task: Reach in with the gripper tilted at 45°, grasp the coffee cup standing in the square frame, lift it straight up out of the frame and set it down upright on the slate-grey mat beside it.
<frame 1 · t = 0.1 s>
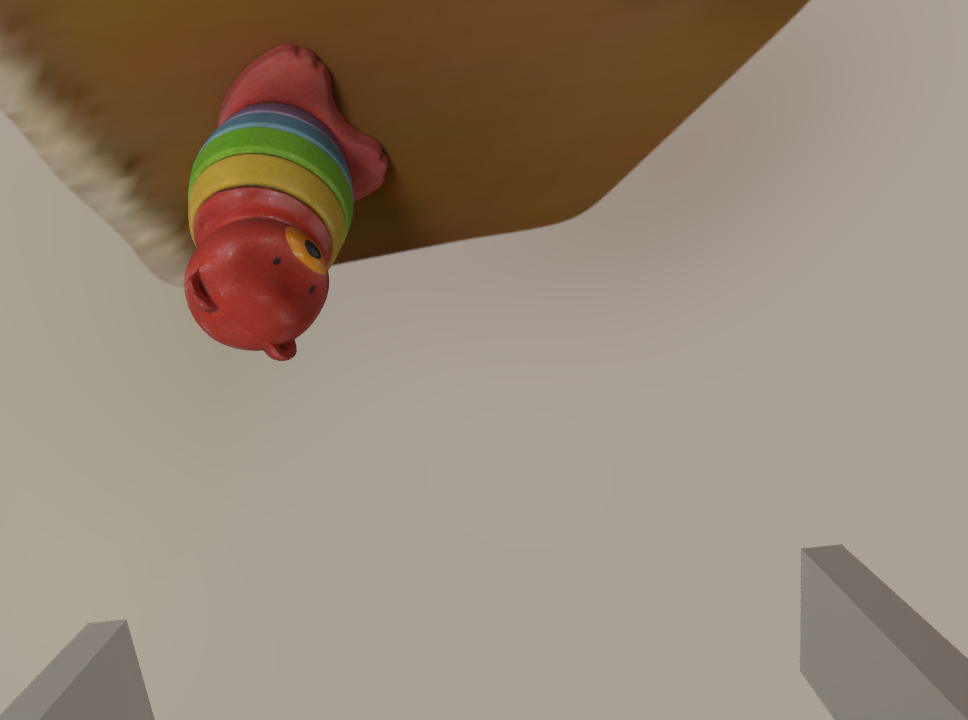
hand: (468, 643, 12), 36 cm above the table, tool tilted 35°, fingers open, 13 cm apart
stacking bear: (293, 140, 42), on the table
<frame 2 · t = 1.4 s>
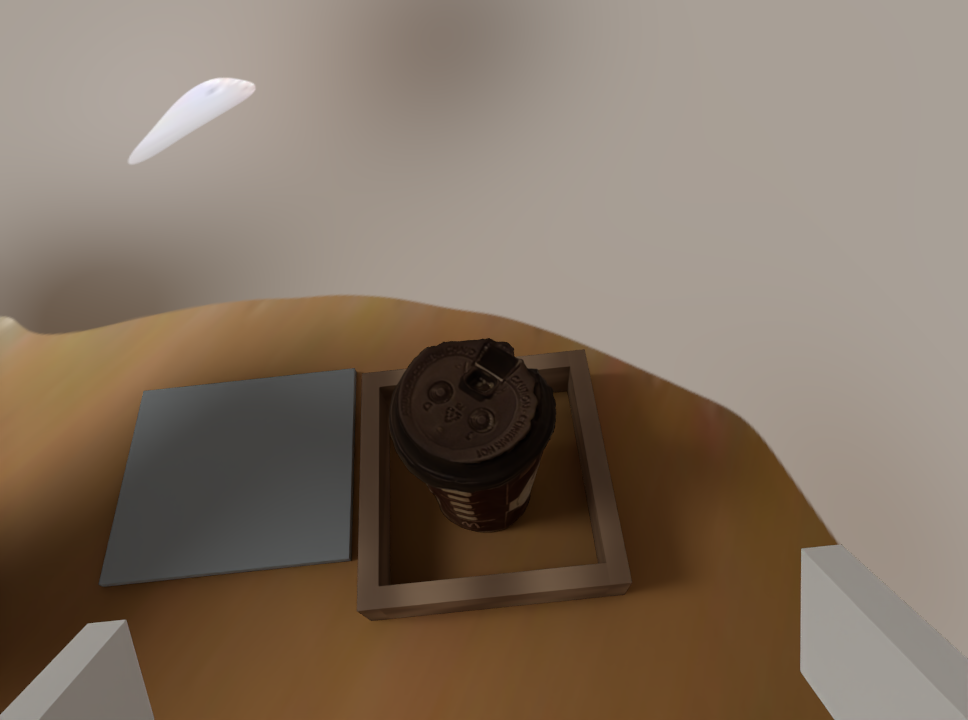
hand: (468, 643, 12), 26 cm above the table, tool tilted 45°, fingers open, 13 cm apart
coffee cup: (486, 487, 41), resting in square frame
square frame: (486, 486, 41), on the table
mat: (240, 470, 43), on the table
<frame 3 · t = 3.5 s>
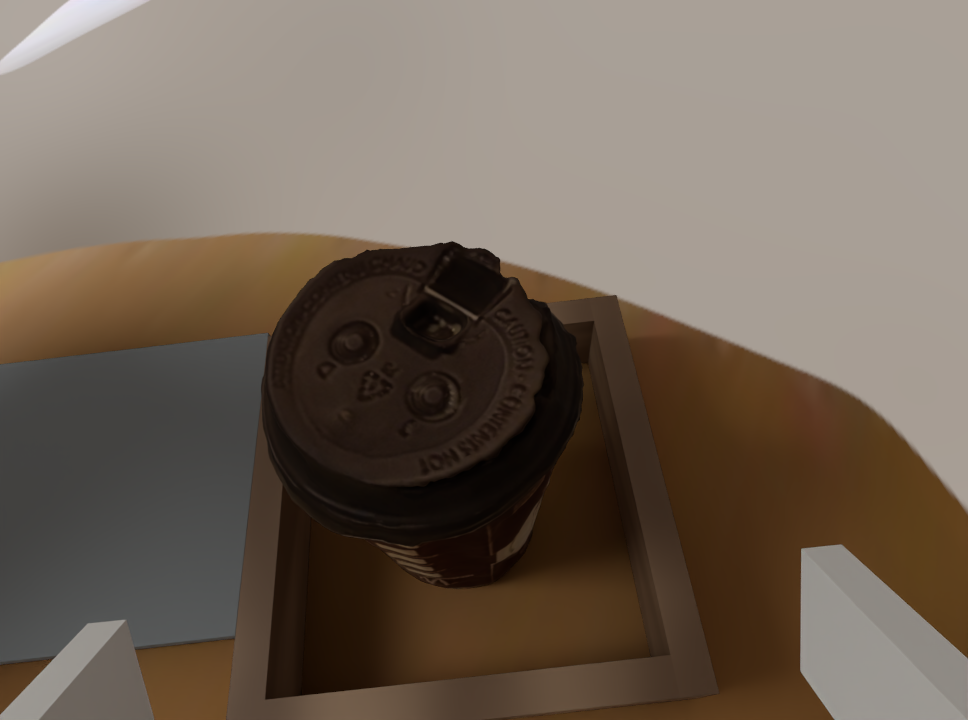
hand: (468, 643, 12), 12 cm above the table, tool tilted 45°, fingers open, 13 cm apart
coffee cup: (463, 513, 26), resting in square frame
square frame: (462, 511, 26), on the table
mat: (83, 489, 28), on the table
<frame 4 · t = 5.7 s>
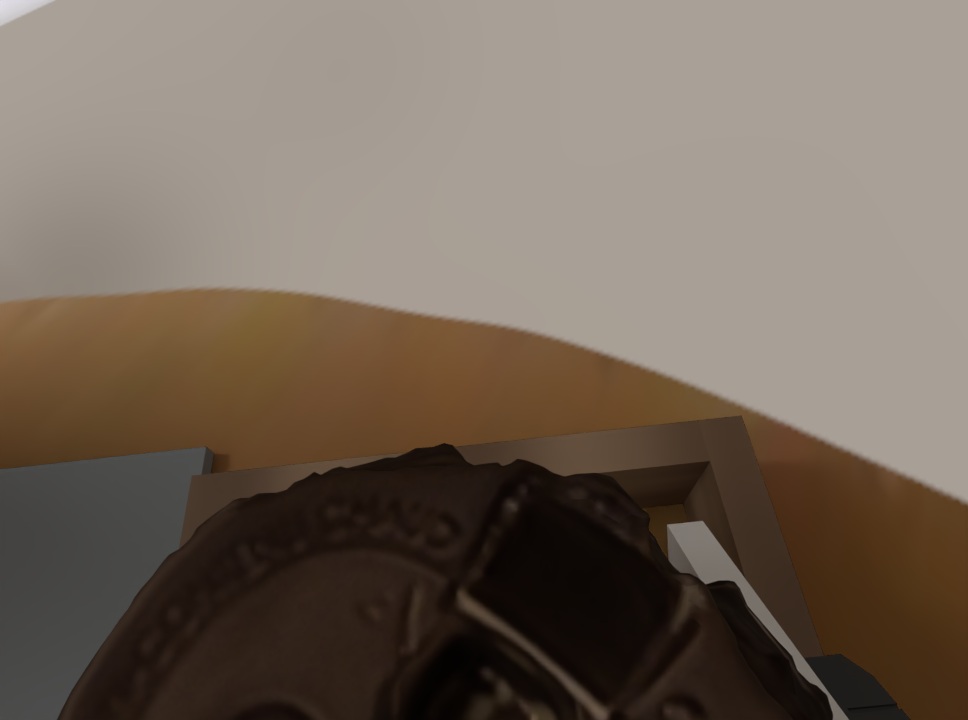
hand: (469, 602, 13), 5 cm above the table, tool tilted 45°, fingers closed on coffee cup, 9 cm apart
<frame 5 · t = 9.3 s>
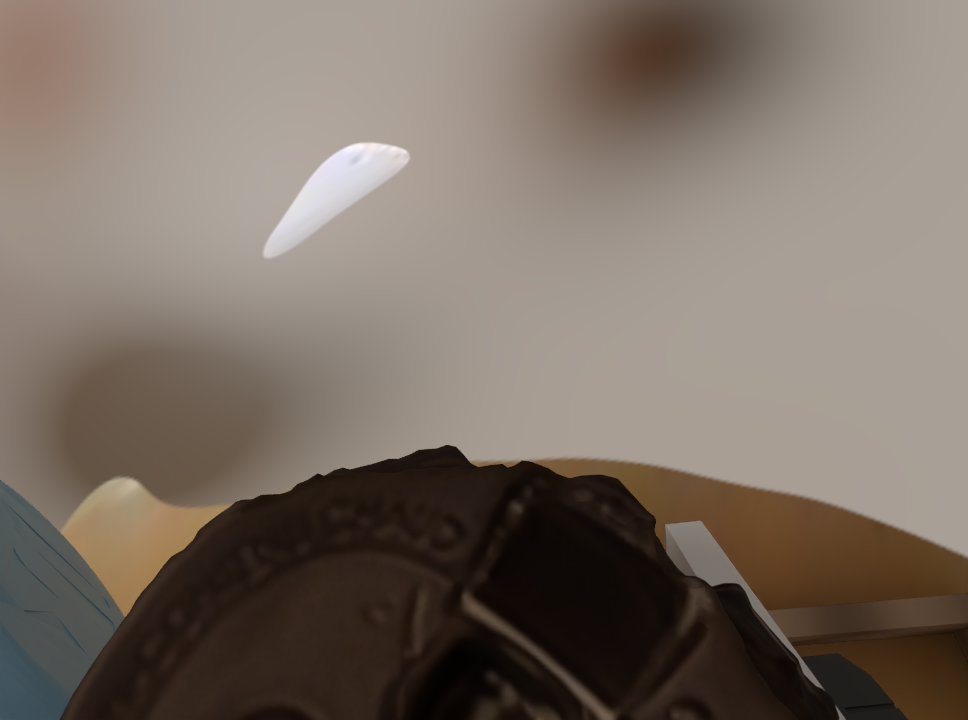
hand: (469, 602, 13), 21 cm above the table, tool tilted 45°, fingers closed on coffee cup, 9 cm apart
when the fingers open (7 cm above the table, at t = 12.6 s): coffee cup drops 1 cm, resting on mat.
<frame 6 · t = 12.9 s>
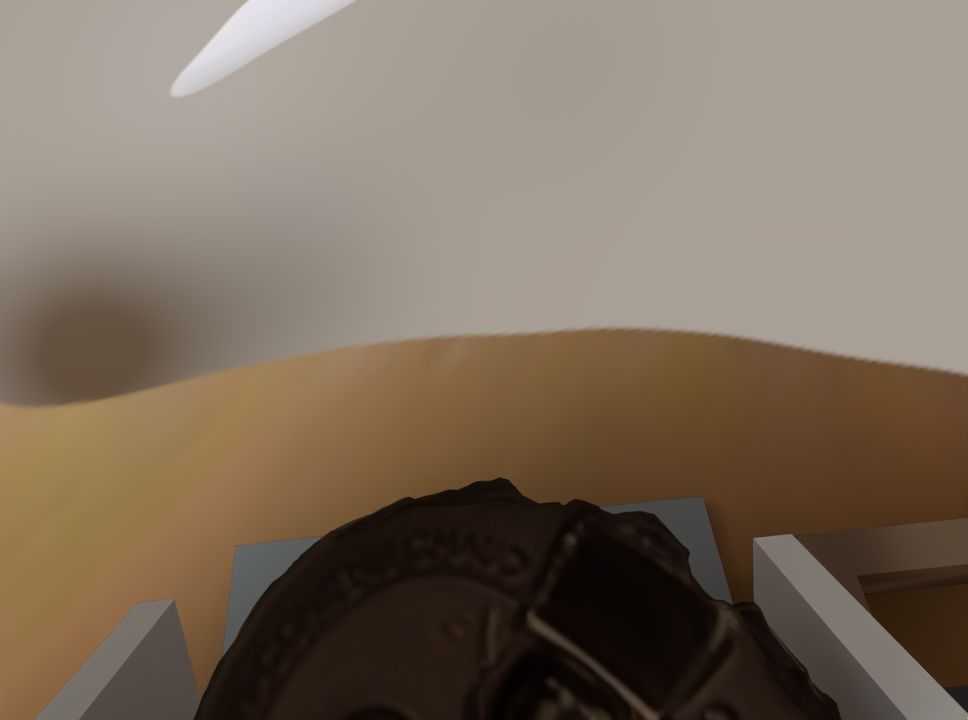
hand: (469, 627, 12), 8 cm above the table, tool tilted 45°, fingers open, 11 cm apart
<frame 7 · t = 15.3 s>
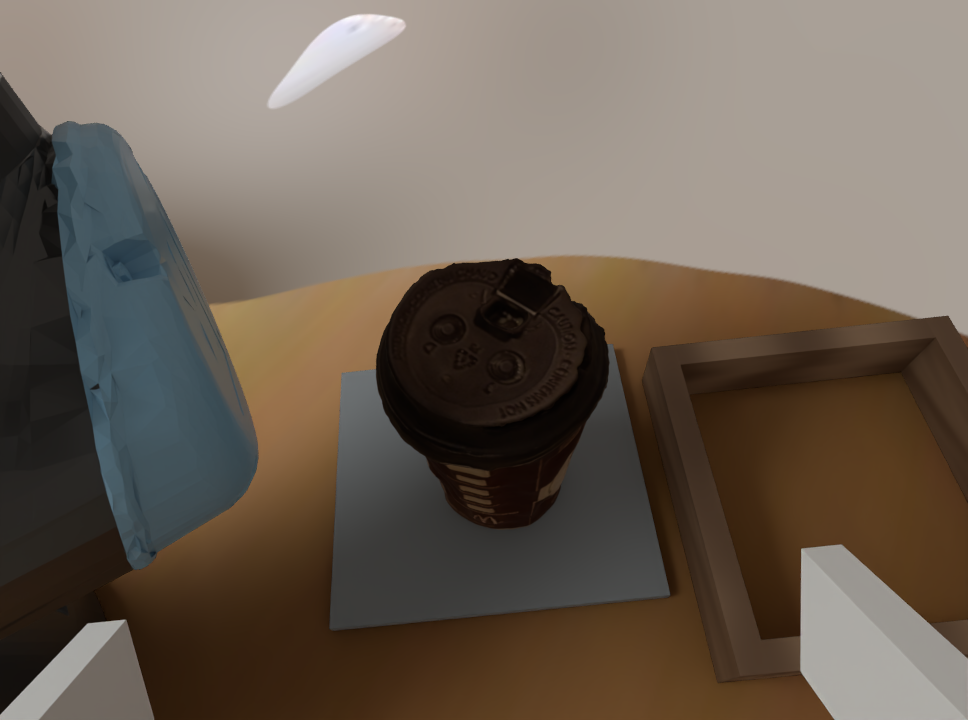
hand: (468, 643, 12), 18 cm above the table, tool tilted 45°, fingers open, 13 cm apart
coffee cup: (504, 472, 32), resting on mat
square frame: (827, 496, 31), on the table
mat: (487, 474, 33), on the table
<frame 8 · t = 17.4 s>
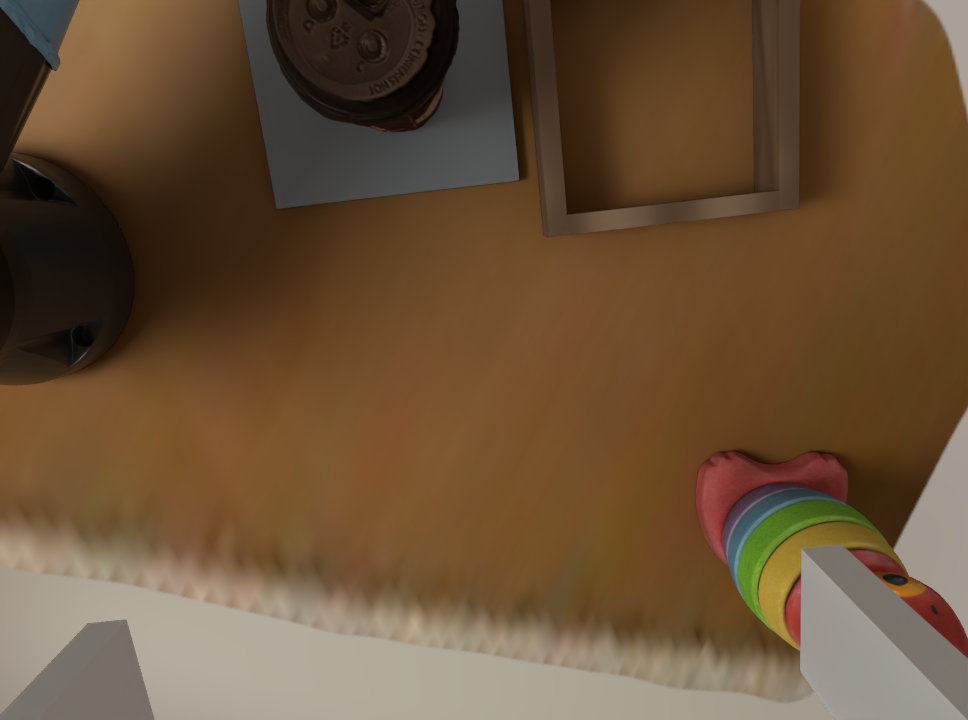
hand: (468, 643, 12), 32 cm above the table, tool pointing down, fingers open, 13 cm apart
coffee cup: (396, 80, 39), resting on mat
stacking bear: (762, 511, 46), on the table
square frame: (651, 100, 39), on the table
mat: (382, 81, 39), on the table
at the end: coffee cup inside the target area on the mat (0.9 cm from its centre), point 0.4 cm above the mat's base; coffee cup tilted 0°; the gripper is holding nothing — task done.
